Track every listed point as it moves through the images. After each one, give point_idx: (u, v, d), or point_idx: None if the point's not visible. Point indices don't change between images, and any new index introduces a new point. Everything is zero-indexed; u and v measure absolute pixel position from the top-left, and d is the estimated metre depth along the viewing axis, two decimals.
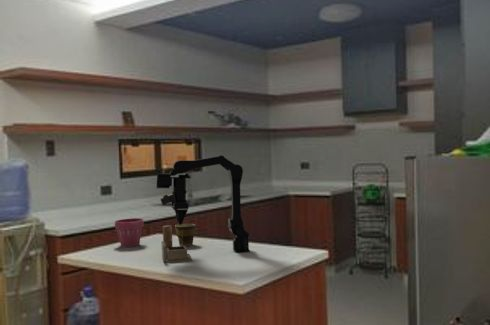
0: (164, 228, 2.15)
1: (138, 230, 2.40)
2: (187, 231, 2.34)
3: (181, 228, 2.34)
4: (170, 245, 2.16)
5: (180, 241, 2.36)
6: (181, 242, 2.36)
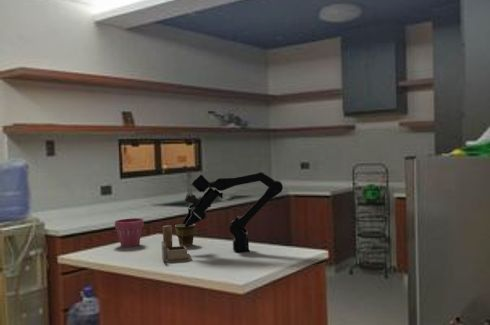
0: (164, 228, 2.15)
1: (138, 230, 2.40)
2: (187, 231, 2.34)
3: (181, 228, 2.34)
4: (170, 245, 2.16)
5: (180, 241, 2.36)
6: (181, 242, 2.36)
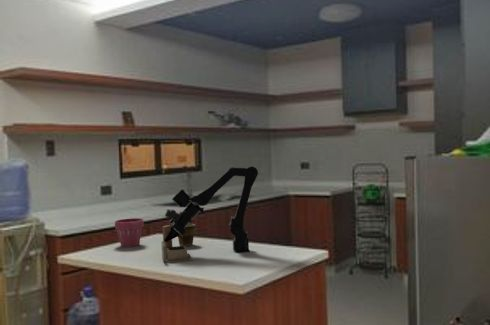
0: (164, 228, 2.15)
1: (138, 230, 2.40)
2: (187, 231, 2.34)
3: None
4: (170, 245, 2.16)
5: (180, 241, 2.36)
6: (181, 242, 2.36)
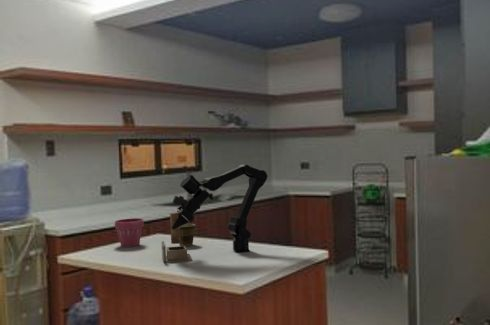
0: (171, 215, 2.07)
1: (138, 230, 2.40)
2: (187, 231, 2.34)
3: (181, 228, 2.34)
4: (178, 233, 2.07)
5: None
6: (181, 242, 2.36)
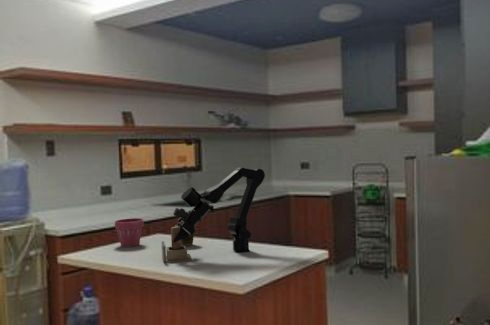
0: (172, 229, 2.06)
1: (138, 230, 2.40)
2: None
3: None
4: (179, 248, 2.07)
5: None
6: (181, 242, 2.36)
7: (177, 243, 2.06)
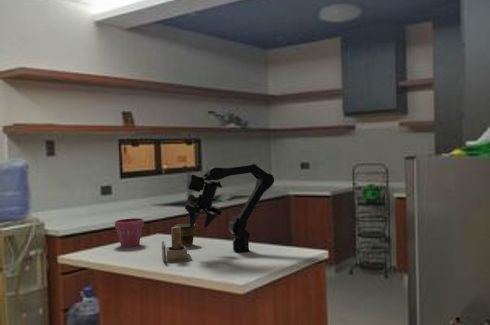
0: (173, 230, 2.06)
1: (138, 230, 2.40)
2: (187, 231, 2.34)
3: (181, 228, 2.34)
4: (179, 248, 2.07)
5: None
6: (181, 242, 2.36)
7: (177, 243, 2.06)
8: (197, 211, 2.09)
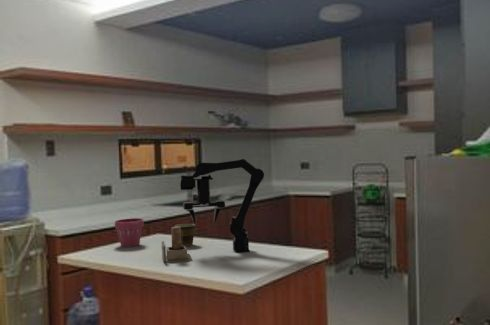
0: (173, 230, 2.06)
1: (138, 230, 2.40)
2: (187, 231, 2.34)
3: (181, 228, 2.34)
4: (179, 248, 2.07)
5: None
6: (181, 242, 2.36)
7: (177, 243, 2.06)
8: (189, 207, 2.16)
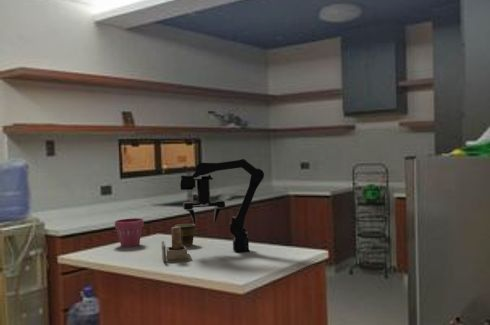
0: (173, 230, 2.06)
1: (138, 230, 2.40)
2: (187, 231, 2.34)
3: (181, 228, 2.34)
4: (179, 248, 2.07)
5: None
6: (181, 242, 2.36)
7: (177, 243, 2.06)
8: (189, 207, 2.16)
